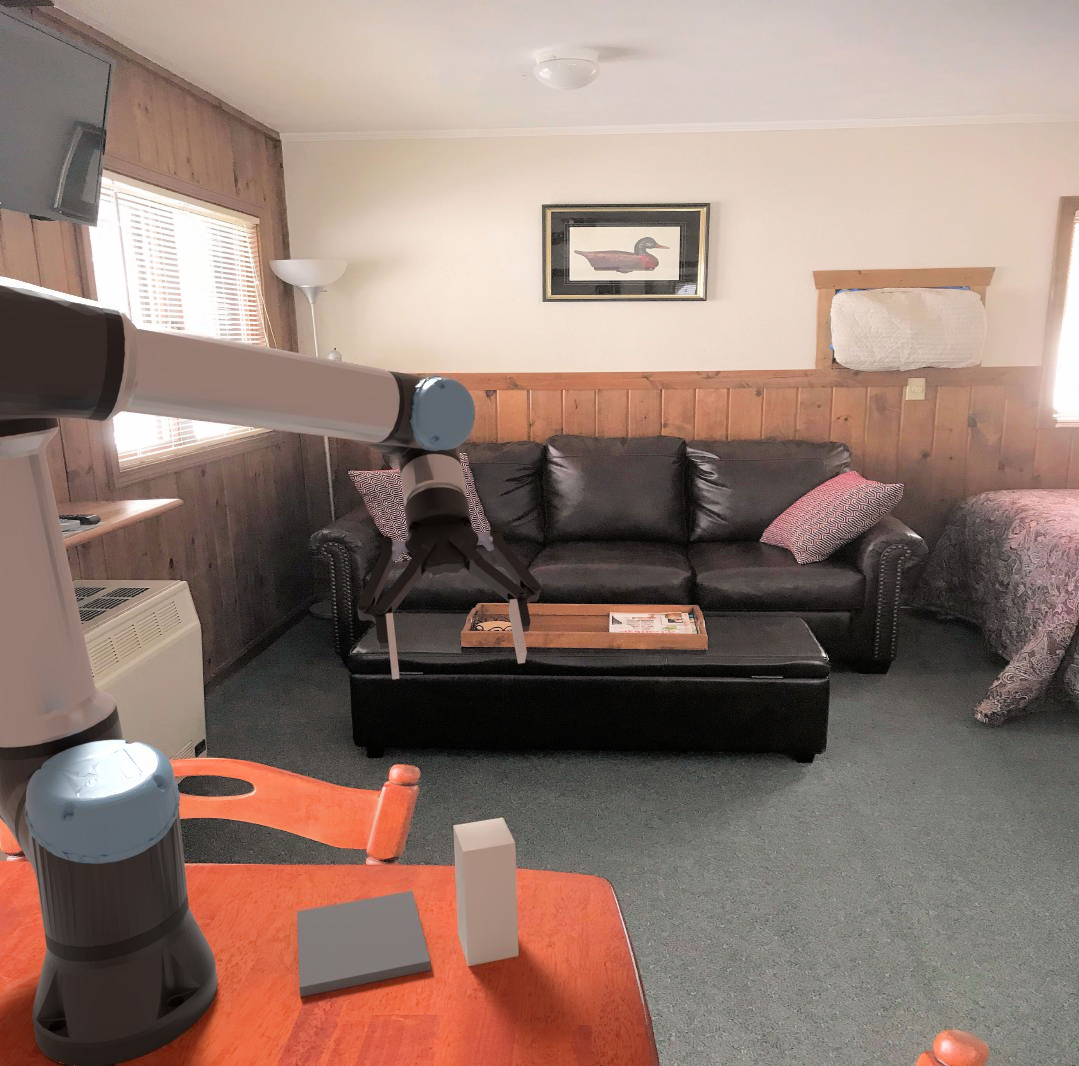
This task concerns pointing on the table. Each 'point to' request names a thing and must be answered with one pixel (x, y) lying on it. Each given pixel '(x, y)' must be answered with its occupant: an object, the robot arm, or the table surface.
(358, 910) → the mat
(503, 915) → the white rectangular block
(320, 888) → the table surface
